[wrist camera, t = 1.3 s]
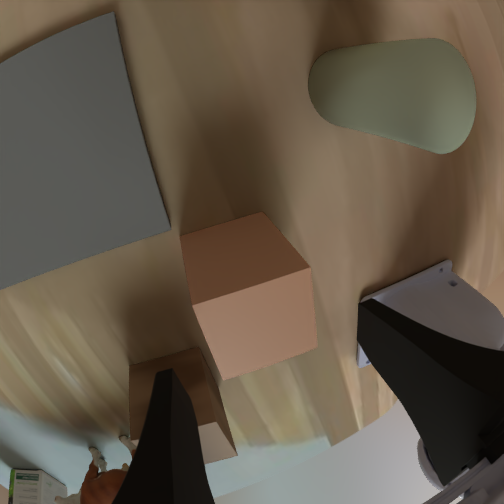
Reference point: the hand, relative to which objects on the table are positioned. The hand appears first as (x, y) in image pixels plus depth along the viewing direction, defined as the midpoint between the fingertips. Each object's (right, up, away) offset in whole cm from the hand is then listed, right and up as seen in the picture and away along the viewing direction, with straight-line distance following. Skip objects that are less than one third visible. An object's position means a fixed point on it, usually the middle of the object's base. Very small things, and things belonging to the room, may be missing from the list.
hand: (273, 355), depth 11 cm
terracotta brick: (-2, +3, +6) cm, 8 cm away
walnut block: (-6, -5, +10) cm, 13 cm away
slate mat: (-11, +8, +1) cm, 14 cm away
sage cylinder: (+4, +12, +3) cm, 14 cm away
